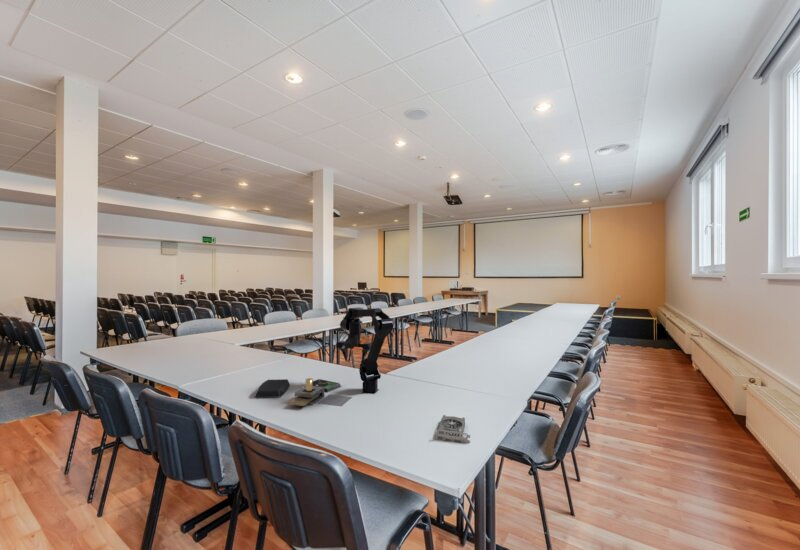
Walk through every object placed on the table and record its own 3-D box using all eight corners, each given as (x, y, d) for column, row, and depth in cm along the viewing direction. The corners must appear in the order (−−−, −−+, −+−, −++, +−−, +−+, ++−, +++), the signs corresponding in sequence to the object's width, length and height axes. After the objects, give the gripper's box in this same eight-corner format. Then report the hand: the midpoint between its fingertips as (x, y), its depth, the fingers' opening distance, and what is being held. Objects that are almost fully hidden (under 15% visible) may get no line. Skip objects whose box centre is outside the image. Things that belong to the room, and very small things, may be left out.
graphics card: (470, 435, 116) (434, 430, 119) (469, 446, 116) (434, 441, 119) (472, 416, 132) (441, 412, 135) (472, 426, 132) (441, 422, 135)
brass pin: (313, 400, 156) (313, 378, 156) (310, 403, 153) (310, 380, 153) (307, 400, 156) (307, 378, 156) (304, 402, 153) (304, 379, 154)
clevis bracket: (307, 396, 162) (307, 385, 162) (324, 397, 159) (324, 387, 159) (287, 408, 146) (287, 396, 146) (305, 410, 144) (305, 398, 144)
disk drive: (304, 389, 173) (327, 394, 166) (304, 384, 173) (327, 388, 166) (318, 384, 182) (341, 388, 175) (318, 378, 182) (341, 382, 175)
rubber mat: (352, 397, 160) (352, 396, 160) (341, 407, 148) (341, 406, 148) (329, 395, 163) (329, 394, 163) (316, 404, 151) (316, 403, 151)
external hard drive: (252, 399, 158) (252, 390, 158) (265, 386, 177) (265, 378, 177) (281, 399, 159) (281, 390, 159) (291, 385, 178) (291, 377, 178)
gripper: (331, 333, 174) (331, 364, 174) (365, 335, 169) (365, 367, 169) (340, 330, 184) (340, 359, 184) (373, 331, 179) (373, 361, 179)
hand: (354, 361), depth 179 cm, fingers open, 9 cm apart
